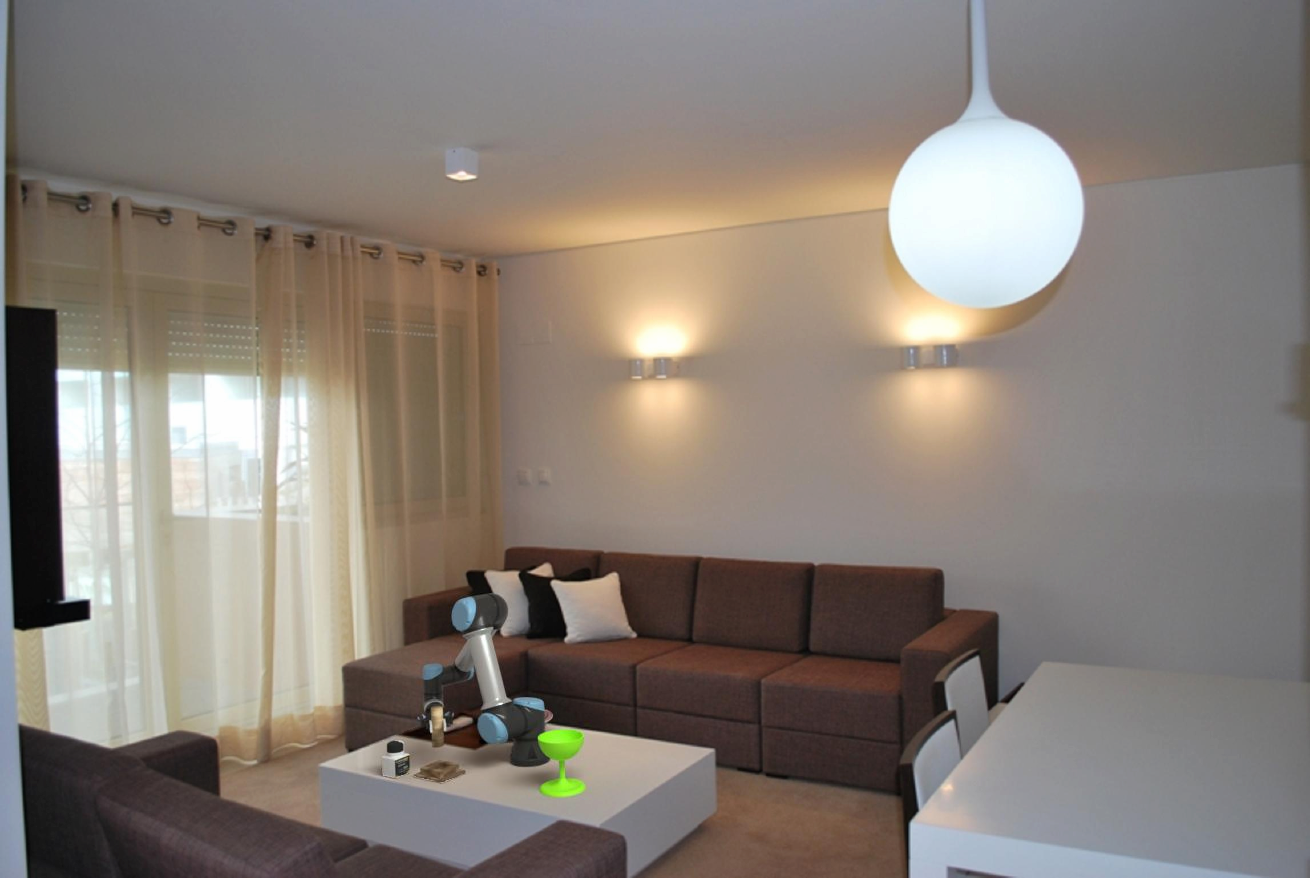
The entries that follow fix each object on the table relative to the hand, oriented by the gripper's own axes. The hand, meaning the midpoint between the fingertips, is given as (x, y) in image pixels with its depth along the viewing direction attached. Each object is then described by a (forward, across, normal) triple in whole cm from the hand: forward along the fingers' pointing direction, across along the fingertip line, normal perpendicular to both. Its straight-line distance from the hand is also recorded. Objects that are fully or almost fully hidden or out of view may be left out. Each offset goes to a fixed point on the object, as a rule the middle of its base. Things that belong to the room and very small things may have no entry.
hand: (438, 728), depth 346 cm
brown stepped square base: (-3, 0, -18) cm, 18 cm away
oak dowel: (-5, 0, -8) cm, 10 cm away
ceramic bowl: (-39, -33, -18) cm, 54 cm away
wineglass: (+26, -40, -18) cm, 51 cm away
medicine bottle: (-9, +15, -18) cm, 25 cm away
